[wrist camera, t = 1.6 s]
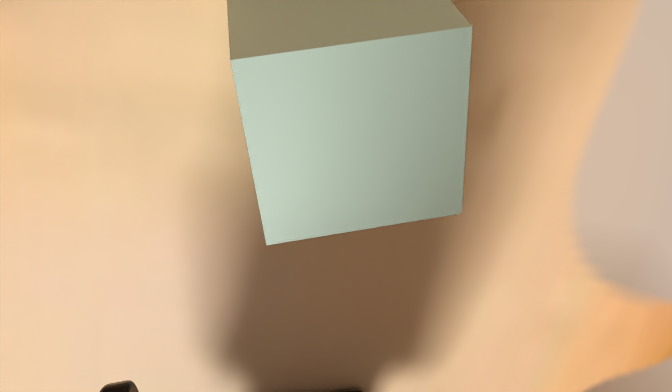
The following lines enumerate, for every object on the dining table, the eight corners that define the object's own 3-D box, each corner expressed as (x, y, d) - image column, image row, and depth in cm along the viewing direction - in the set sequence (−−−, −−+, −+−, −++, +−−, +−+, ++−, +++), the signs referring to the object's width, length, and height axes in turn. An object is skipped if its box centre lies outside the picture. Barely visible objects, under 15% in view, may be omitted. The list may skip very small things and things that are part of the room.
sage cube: (412, 116, 20) (461, 213, 16) (255, 139, 20) (266, 245, 16) (411, -46, 17) (472, 25, 13) (225, -22, 17) (230, 59, 13)
